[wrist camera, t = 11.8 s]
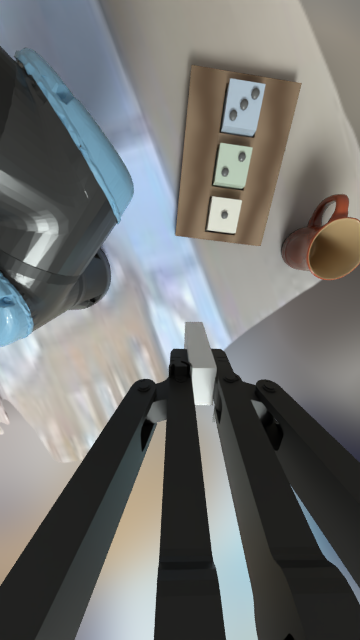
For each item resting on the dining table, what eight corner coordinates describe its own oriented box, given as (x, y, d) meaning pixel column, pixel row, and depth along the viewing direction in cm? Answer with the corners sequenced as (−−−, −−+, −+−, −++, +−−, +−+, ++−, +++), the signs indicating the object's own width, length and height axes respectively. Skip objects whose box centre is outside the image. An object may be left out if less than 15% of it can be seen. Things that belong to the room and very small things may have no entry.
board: (175, 235, 37) (175, 235, 35) (190, 76, 29) (191, 64, 27) (256, 245, 38) (260, 245, 36) (293, 93, 29) (301, 83, 28)
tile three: (219, 136, 31) (223, 124, 28) (225, 95, 29) (230, 76, 26) (248, 141, 31) (257, 129, 28) (256, 100, 30) (266, 82, 26)
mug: (315, 270, 39) (359, 278, 30) (272, 272, 40) (302, 281, 30) (329, 202, 35) (385, 187, 25) (281, 205, 35) (319, 191, 26)
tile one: (205, 230, 36) (207, 229, 33) (209, 200, 35) (212, 195, 31) (230, 233, 37) (235, 233, 33) (236, 203, 35) (242, 199, 32)
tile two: (211, 187, 34) (214, 181, 31) (216, 152, 32) (220, 141, 29) (239, 191, 34) (245, 185, 31) (245, 156, 32) (253, 146, 29)
